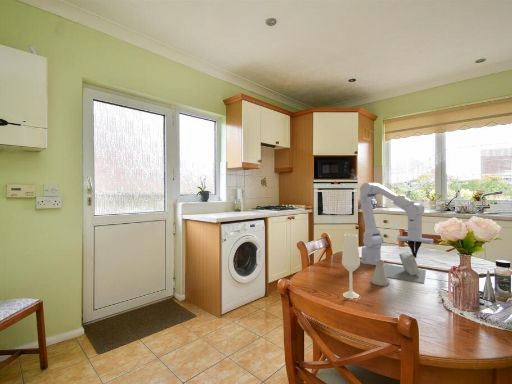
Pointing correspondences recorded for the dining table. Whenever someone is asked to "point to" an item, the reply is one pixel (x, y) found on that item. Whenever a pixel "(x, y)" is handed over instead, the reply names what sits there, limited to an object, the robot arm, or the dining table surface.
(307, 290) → the dining table surface
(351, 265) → the champagne flute
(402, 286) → the dining table surface
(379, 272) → the flask
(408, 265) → the medicine box
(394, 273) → the mat
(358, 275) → the dining table surface
